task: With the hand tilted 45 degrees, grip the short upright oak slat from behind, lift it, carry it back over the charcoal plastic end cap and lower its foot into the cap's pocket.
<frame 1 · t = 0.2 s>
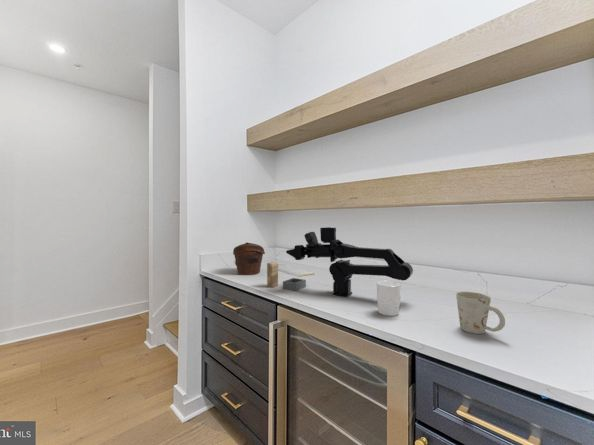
hand: (291, 250, 130), 17 cm above the countertop, tool horizontal, fingers open, 9 cm apart
slat: (272, 286, 130), on the countertop
white cup: (388, 313, 94), on the countertop
brown tapered cylinder: (248, 273, 161), on the countertop
mug: (480, 333, 78), on the countertop
end cap: (294, 287, 127), on the countertop
baseboard: (290, 272, 166), on the countertop
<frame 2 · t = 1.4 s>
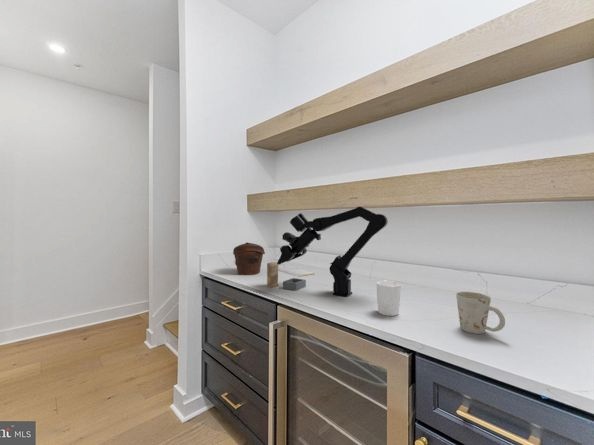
hand: (282, 262, 128), 11 cm above the countertop, tool tilted 45°, fingers open, 9 cm apart
nothing on the countertop moved.
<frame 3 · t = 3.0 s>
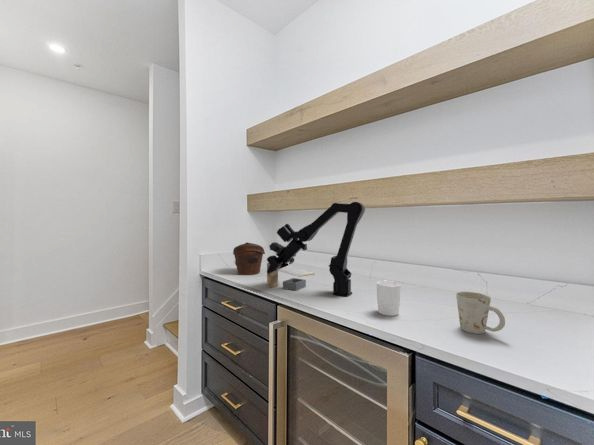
hand: (269, 271, 130), 7 cm above the countertop, tool tilted 45°, fingers closed on slat, 5 cm apart
slat: (272, 286, 130), on the countertop, touching gripper
everything else where it was.
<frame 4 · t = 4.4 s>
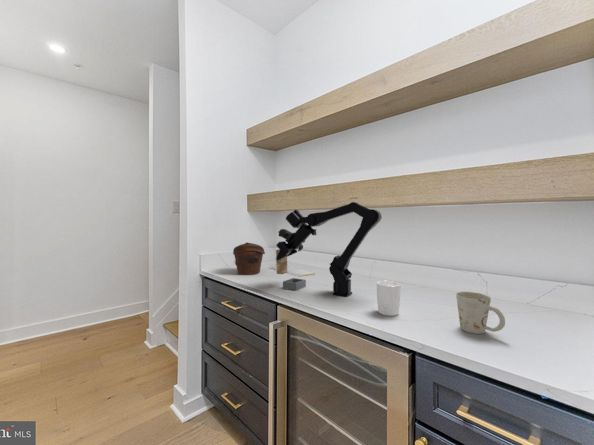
hand: (279, 258, 129), 13 cm above the countertop, tool tilted 45°, fingers closed on slat, 5 cm apart
slat: (282, 273, 129), point 6 cm above the countertop, touching gripper
everything else where it was.
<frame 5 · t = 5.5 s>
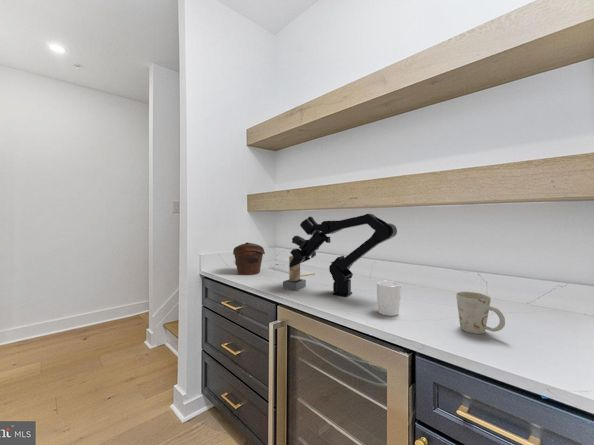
hand: (292, 265, 128), 10 cm above the countertop, tool tilted 45°, fingers closed on slat, 5 cm apart
slat: (294, 280, 127), point 3 cm above the countertop, touching gripper
everything else where it was.
when the fingers open (9 cm above the countertop, at t = 6.1 s): slat drops 1 cm, resting on end cap.
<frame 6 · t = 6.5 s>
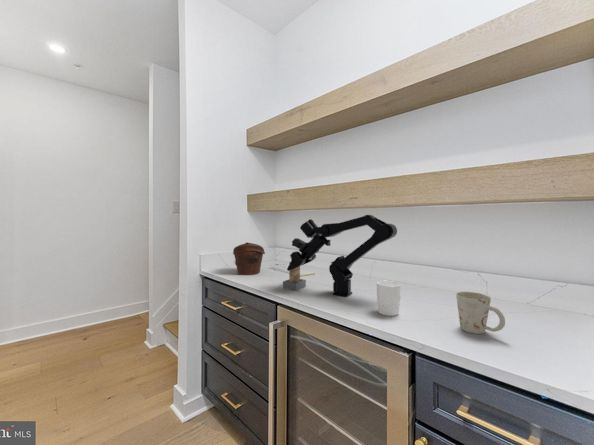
hand: (291, 268, 128), 9 cm above the countertop, tool tilted 45°, fingers open, 9 cm apart
slat: (294, 285, 127), point 1 cm above the countertop, touching end cap
everything else where it was.
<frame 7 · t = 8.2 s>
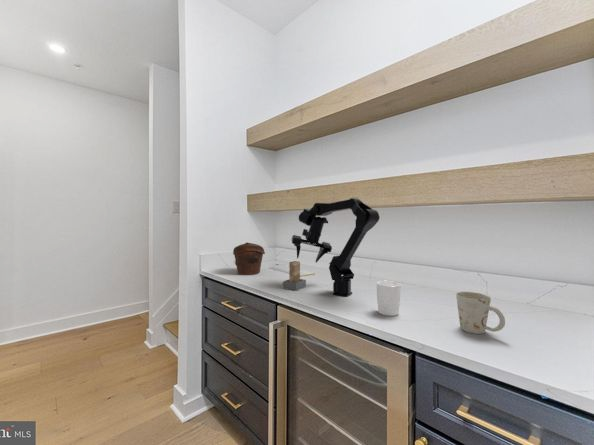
hand: (306, 260, 131), 12 cm above the countertop, tool tilted 20°, fingers open, 9 cm apart
nothing on the countertop moved.
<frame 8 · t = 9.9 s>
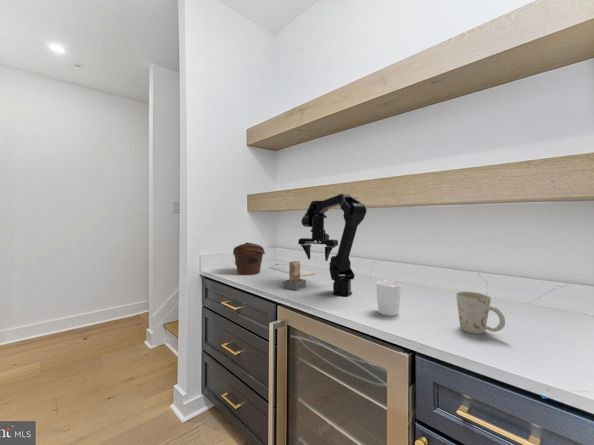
hand: (317, 260, 132), 12 cm above the countertop, tool pointing down, fingers open, 9 cm apart
nothing on the countertop moved.
at the end: slat 0.1 cm off-centre on the end cap, point 0.8 cm above the end cap's base; slat tilted 0°; the gripper is holding nothing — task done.
